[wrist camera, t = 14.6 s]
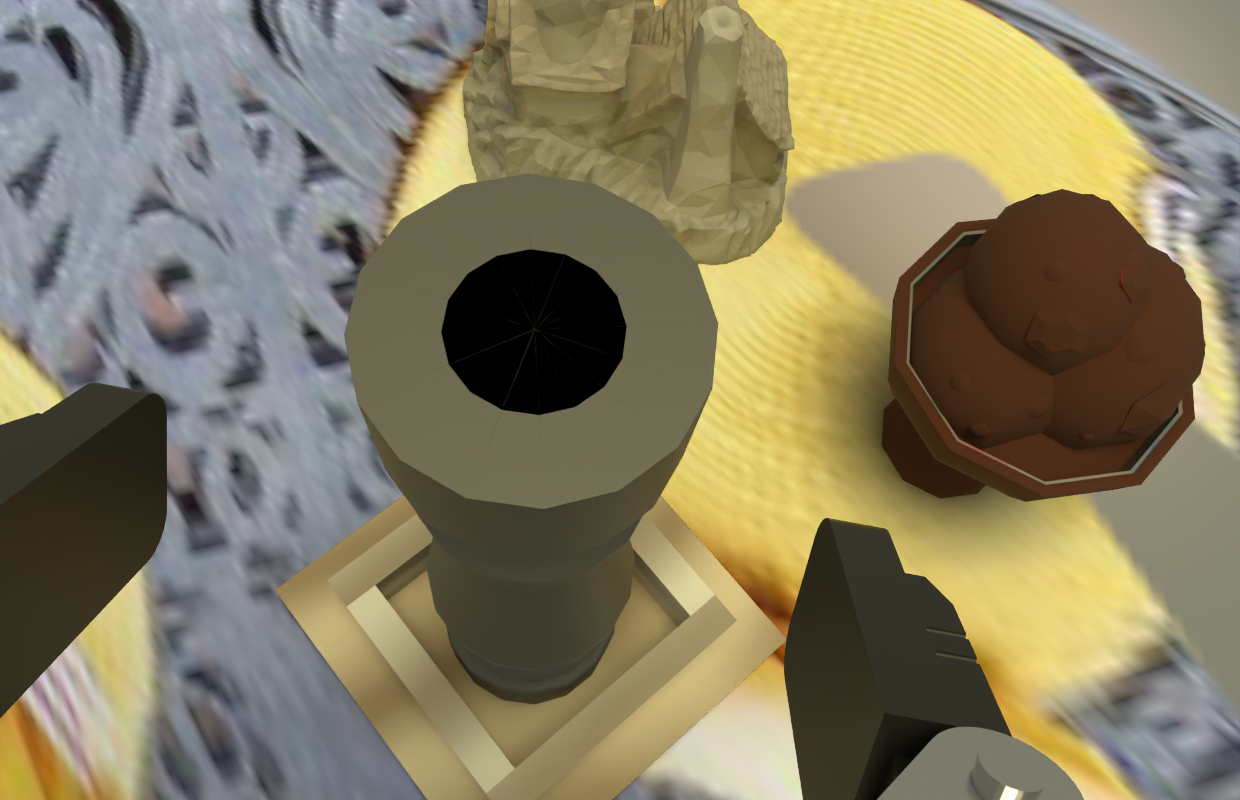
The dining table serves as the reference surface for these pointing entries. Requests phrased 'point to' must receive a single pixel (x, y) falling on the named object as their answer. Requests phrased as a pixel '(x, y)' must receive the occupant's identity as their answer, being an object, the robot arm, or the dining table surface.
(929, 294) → the ice cream bowl
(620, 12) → the ceramic cottage
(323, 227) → the dining table surface
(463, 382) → the candle holder
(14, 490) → the robot arm
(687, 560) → the socket base
